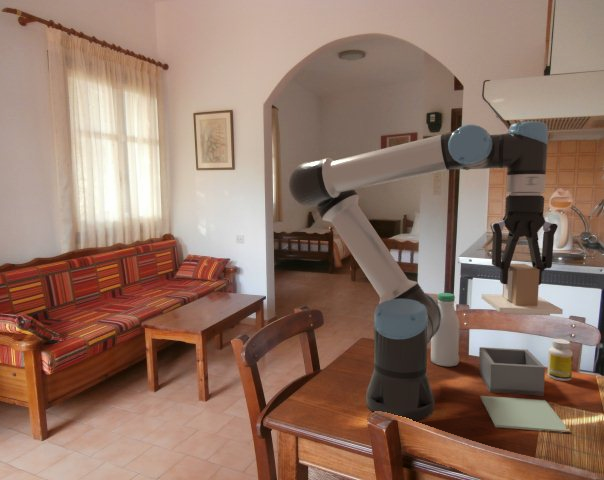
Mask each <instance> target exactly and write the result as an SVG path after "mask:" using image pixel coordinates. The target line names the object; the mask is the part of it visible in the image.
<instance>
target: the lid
mask: <svg viewBox="0 0 604 480" xmlns="http://www.w3.org/2000/svg"><path fill="white" fill-rule="evenodd" d="M509 270H512V271H513V274H512V293H511V300H508V299H506V298H505V297H503V295H504V284H502V294H491V293H490V294H487V293H486V294H485V293H483V294H481V299H482V300H483V301H484V302H485V303H487V304H488V305H490V306H491V307H492V308H493V309H495V310H496V311H497V312H499V313H503V314H504V315H525V316H526V315H528V316H550V315H563V312H564V311H563V310H564V309H562V308H560V307H559V306H557V305H555V304H553V303H551V302H550V301H547V300H545V299H543V298H542V297H539V288H540V285H539V271H540V270H539V269H537V268H534V267H533V266H532V265H529V264H525V263H511V264H510V267H509Z"/></svg>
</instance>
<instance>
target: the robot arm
mask: <svg viewBox="0 0 604 480" xmlns="http://www.w3.org/2000/svg"><path fill="white" fill-rule="evenodd" d="M548 130H549V128H548V124H547V123H545V122H543V121H533V120H532V121H522V122H516V123H512V124H511V125H510V126H509V129H508V133H500V134H490V133H489V132H488V131H487V130H486V129H485V128H483V126H479V125H476V124H464V125H462V126H459V127H458V128H457V129H456V130H453V131H450V132H447V133H444V134H438V135H434V136H433V135H432V136H430V137H429V136H428V137H425V138H421V139H418V140H414V141H409V142H405V143H401V144H397V145H393V146H387V147H384V148H380V149H377V150H373V151H368V152H365V153H360V154H356V155H351V156H348V157H343V158H340V159H337V160H334V159H333V158H331V157H326V158H321V159H318V160H312V161H305V162H303V163H300V164H299V165H297V166H296V167H295V168H294V169H293V171H292V173H291V175H290V176H289V181H288V189H289V192H290V195H291V196H292V198H293V200H294V201H295V202H297V203H298V204H299V205H302V206H303V207H306V208H314V209H315V210H316V211H317V213H318V215H319V217H321V220H322V221H323V222H329V223H331V225H332V226H333V227H334V229H335V231H336V232H337V233H338V235H339V236H340V238H341V240H342V241H343V243H344V244H345V245H346V247H347V248H348V250H349V252H350V254H351V256H353V258H354V260H355V261H356V262H357V264H358V265H359V267H360V269H361V270H362V272H363V273H364V275H365V276H366V278H367V279H368V281H369V282H370V284H371V285H372V287H373V289H374V290H375V292H376V293H377V294H378V296H379V302H378V305H377V306H376V308H375V309H374V317H373V329H374V331H373V333H374V334H373V337H374V338H373V343H374V344H373V346H374V347H373V349H374V350H373V351H374V352H373V353H374V354H373V358H374V359H373V366H374V367H373V372H372V375H371V377H370V380H369V384H368V387H367V389H366V393H365V394H366V396H365V398H366V399H365V401H366V403H365V404H366V407H368V409H369V410H370V411H371V412H373V411H382V412H387V413H391V414H394V415H398V416H402V417H406V418H409V419H412V420H415V421H421V420H424V419H426V418H428V417H430V416H431V415H433V412H434V411H435V397H434V393H433V391H432V387H431V385H430V381H429V377H428V376H427V375H428V373H427V365H428V364H427V354H428V344H429V343H430V342H431V338H432V337H433V336H434V335H435V334H436V333H437V331H438V329H439V327H440V322H441V311H440V307H439V305H438V301H436V300H435V299H434V298H433V297H432V296H431V295H430V294H428V293H425V292H424V290H423V289H422V287H421V286H420V285H419V283H418V282H417V281H415V280H411V279H409V278H408V277H407V275H406V274H405V272H404V271H403V270H402V268H401V267H400V265H399V264H398V261H396V260H395V258H394V256H393V255H392V254H391V252H390V251H389V248H388V247H387V246H386V245H385V243H384V242H383V240H382V239H381V237H380V236H379V234H378V232H377V231H376V229H375V228H374V227H373V225H372V224H371V223H370V221H369V220H368V217H366V215H365V214H364V212H363V210H362V209H361V207H360V206H359V204H358V203H359V198H360V196H359V195H358V192H357V191H356V190H358V189H363V188H367V187H372V186H376V185H377V186H378V185H381V184H387V183H391V182H395V181H401V180H406V179H411V178H416V177H421V176H425V175H431V174H434V173H439V172H443V171H449V170H450V171H451V170H465V171H469V170H482V169H483V170H485V169H504V168H505V169H506V170H507V172H506V187H505V192H506V194H508V195H507V196H506V197H505V210H504V212H505V213H504V217H502V220H501V221H497V222H492V223H490V229H491V232H492V243H491V244H492V246H491V247H492V250H491V265H492V266H493V267H495V268H499V270H500V273H499V282H500V284H502V285H503V284H504V295H503V294H502V295H503V297H505V298H506V299H508V300H511V293H512V274H513V271H512V270H509V267H510V264H512V260H513V257H514V254H515V250H516V247H517V244H518V242H519V240H520V238H522V237H525V239H526V240H527V245H528V250H529V254H530V255H529V256H530V260H531V266H532V267H534V268H537V269H539V270H540V271H539V286H540V285H541V284H542V275H543V274H542V273H543V272H544V271H545V270H547V269H551V268H552V266H553V258H554V257H553V255H554V254H553V253H554V239H555V233H556V232H557V230H558V224H556V223H551V222H549V221H546V219H545V217H544V210H545V197H544V195H542V194H544V193H545V191H546V174H547V172H546V170H547V159H548V148H549V147H548V145H549V143H548V140H549V138H548V137H549V132H548ZM504 226H505V228H506V230H507V231H508V233H507V234H508V235H507V241H506V244H505V247H504V251H503V254H502V249H503V247H502V246H503V234H502V233H503V231H504ZM541 228H542V230H543V234H542V235H543V236H542V248H541V249H540V246H539V236H538V235H539V234H538V232H539V231H540V229H541ZM540 250H541V252H540Z"/></svg>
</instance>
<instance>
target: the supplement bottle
mask: <svg viewBox="0 0 604 480" xmlns="http://www.w3.org/2000/svg"><path fill="white" fill-rule="evenodd" d="M551 345H552V346H551V347H550V348H549V349H548V358H547V359H548V361H547V376H548V377H549V378H551V379H553V380H556V381H562V382H568V381H571V380H572V375H573V374H572V373H573V359H574V358H573V357H574V356H573V350H571V349H570V348H571V342H570V341H569V340H567V339H563V338H553V339H552V342H551Z"/></svg>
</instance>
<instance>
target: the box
mask: <svg viewBox="0 0 604 480" xmlns="http://www.w3.org/2000/svg"><path fill="white" fill-rule="evenodd" d="M478 349H479V352H478V354H479V355H478V357H479V358H478V374H479V375H480V376H481V377H480V378H481V379H482V380H483V382H484V384H485V386H486V387H487V389H488V390H489V393H497V394H499V393H500V394H512V395H513V394H514V395H526V396H528V395H529V396H541V397H542V396H543V397H544V396H545V379H546V378H545V376H546V375H545V372H546V366H544V365H543V364H542V362H540V360H538V359H537V357H535V356H534V355H533V354H532V353H531V351H530V350H528V349H524V348H523V349H519V348H502V347H501V348H500V347H482V346H480V347H479V348H478Z"/></svg>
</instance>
